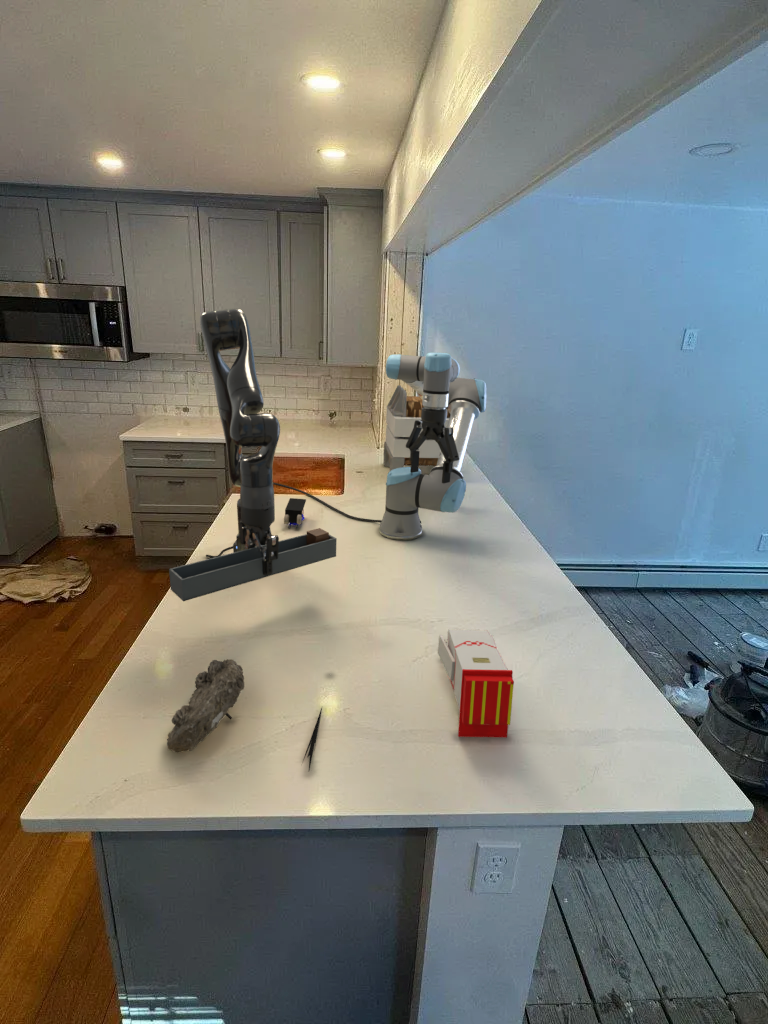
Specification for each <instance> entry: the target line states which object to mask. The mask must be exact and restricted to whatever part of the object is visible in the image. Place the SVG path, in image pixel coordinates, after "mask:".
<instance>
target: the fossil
mask: <svg viewBox="0 0 768 1024" xmlns="http://www.w3.org/2000/svg"><path fill="white" fill-rule="evenodd" d="M243 670H244V669H243V667H242V665H240V664H237V662H236V661H235V660H234V659H232V658H231V659H227V658H226V659H224V660H223V661H222V660H217V659H212V660H211V661H210V663H209V665H208V666H207V671H201V672H199V673H198V674H197V675H196V676H195V680H194V684H195V685H194V687H195V689H194V690H193V693H192V694H191V697H190V698H189V700H188V704H184V705H182V706H181V707H180V709H177V710H176V711H175V713H174V715H173V716H172V718H171V723H172V724H173V727H172V730H171V731H170V732H168V734H167V738H166V741H167V742H166V745H167V749H168V750H169V751H173V752H174V753H176V754H178V753H182V752H188V751H189V752H192V751H193V750H195V748H196V747H197V746H199V744H200V743H201V742H203V741H204V740H205V739H206V738H207V737H208V736H209V735H210V734H211V733H212V732H214V730H215V729H217V727H218V726H219V724H220V722H221V721H222V720H223V719H224V718H225V716H226V717H227V719H229V720H233V717H232V715H230V714H229V710H230V709H231V708H234V706H235V704H236V703H237V702H238V699H239V697H240V695H241V693H242V691H243V690H245V689H244V688H245V675H244V671H243Z"/></svg>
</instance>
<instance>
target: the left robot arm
mask: <svg viewBox="0 0 768 1024" xmlns="http://www.w3.org/2000/svg"><path fill="white" fill-rule="evenodd" d="M199 323H200V330H201V335H202V339H203V343H204V347H205V351H206V354H207V358H208V362H209V366H210V371H211V375H212V378H213V385H214V389H215V390H214V391H215V397H216V404H217V408H218V415H219V417H220V422H221V427H222V430H223V436H224V441H225V447H226V448H225V449H226V457H227V464H228V473H229V478H230V481H231V483H232V485H233V486H234V487H239V488H240V490H239V499H238V500H237V501H236V512H237V513H236V514H237V515H236V516H237V535H236V536H235V537H236V540H235V541H234V543H233V544H232V546H229V547H226V548H224V549H223V550H221V551H220V552H219V554H217V555H210V554H205V557H206V558H209V559H210V558H214V557H218V556H222V555H224V553H226V552H228V551H230V550H232V553H234V552H238V551H242V550H246V549H250V548H254V547H257V549H258V552H260V553H261V556H262V559H263V561H262V566H263V575H265V576H266V575H270V574H272V560H276V559H278V549H279V541H280V538H279V537H280V536H279V535H278V534H276V535H274V534H272V531H271V526H272V524H273V523H274V522H275V520H276V511H275V510H276V509H275V489H274V485H273V482H274V471H273V469H274V468H273V466H274V460H275V459H274V458H275V455H276V451H277V446H278V443H279V440H280V436H281V424H280V422H279V420H278V418H277V416H275V415H274V414H272V413H269V412H265V413H261V411H262V410H263V409H264V405H265V403H264V401H265V400H264V396H263V394H262V390H261V387H260V383H259V380H258V376H257V371H256V362H255V360H256V359H255V352H254V347H253V342H252V341H253V340H252V335H251V329H250V328H251V327H250V324H249V321H248V318H247V315H246V313H245V312H244V310H242V309H241V308H228V309H227V308H225V309H218V310H208V311H204V312H202V313H201V315H200V318H199ZM229 350H238V353H237V355H236V358H235V359H234V362H233V363H232V365H231V367H229V366H228V365H229V364H227V362H226V361H225V360H224V358H223V356H222V354H221V352H223V351H229ZM252 447H254V448H255V447H260V449H259V451H257V452H256V453H254V454H253V453H252V454H250V455H246V454H243V451H242V448H252ZM263 545H266V547H261V546H263ZM265 550H266V555H265ZM273 551H274V554H273Z"/></svg>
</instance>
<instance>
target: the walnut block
mask: <svg viewBox="0 0 768 1024" xmlns="http://www.w3.org/2000/svg"><path fill="white" fill-rule="evenodd" d="M306 534H307V545H310V544H314V543H318V542H321V541H325V540H329V535H330V533H329V532H328V531H326V530H325V529H322V528H320V527H317V528H314V529H310V530H307V531H306Z"/></svg>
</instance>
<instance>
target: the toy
mask: <svg viewBox="0 0 768 1024" xmlns="http://www.w3.org/2000/svg"><path fill="white" fill-rule="evenodd" d="M446 640H447V643H446V641H445V639H444V636H443V635H442V634H439V637H438V646H437V656H438V657H439V659H440V661H441V663H442V666H443V668H444V670H445V672H446V674H447V677H448V679H449V681H450V684H451V687H452V690H453V693H454V697H455V701H456V705H457V708H458V711H459V714H458V715H459V716H458V730H457V731H458V732H457V737H458V738H508V731H509V726H510V725H511V717H512V707H513V697H514V696H513V695H514V684H515V680H514V679H513V673H514V671H513V670H512V669H508V667H507V665H506V662H505V661H504V659H503V658H502V655H501V653H500V651H499V649H498V647H497V643H496V639H495V637H494V635H493V634H491V632H490V631H489V629H467V628H466V629H465V628H463V629H461V628H460V629H459V628H448V630H447V639H446Z"/></svg>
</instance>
